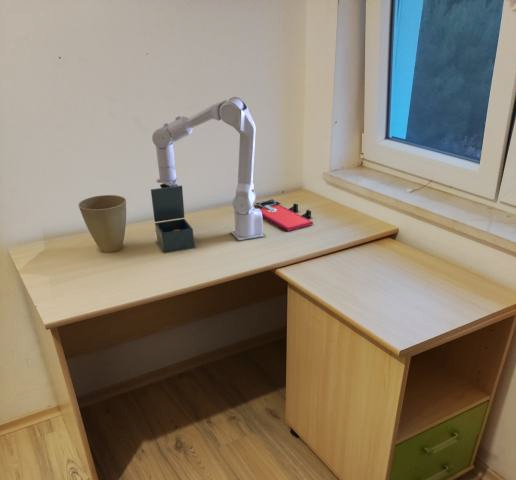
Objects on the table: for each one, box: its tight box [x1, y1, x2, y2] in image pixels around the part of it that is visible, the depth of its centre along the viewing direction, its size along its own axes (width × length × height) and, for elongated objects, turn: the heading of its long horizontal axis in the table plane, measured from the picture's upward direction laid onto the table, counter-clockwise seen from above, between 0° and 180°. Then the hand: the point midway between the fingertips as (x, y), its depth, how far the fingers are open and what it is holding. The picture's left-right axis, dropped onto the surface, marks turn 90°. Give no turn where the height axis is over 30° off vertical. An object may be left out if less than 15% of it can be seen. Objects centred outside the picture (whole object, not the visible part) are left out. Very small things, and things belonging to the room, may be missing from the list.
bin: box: [154, 218, 195, 254], centre depth 171 cm, size 10×10×7 cm
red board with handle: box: [254, 198, 314, 232], centre depth 194 cm, size 30×3×15 cm
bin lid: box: [150, 185, 185, 223], centre depth 169 cm, size 11×10×1 cm
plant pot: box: [77, 194, 127, 253], centre depth 167 cm, size 15×15×16 cm
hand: (171, 205), depth 178 cm, fingers closed
